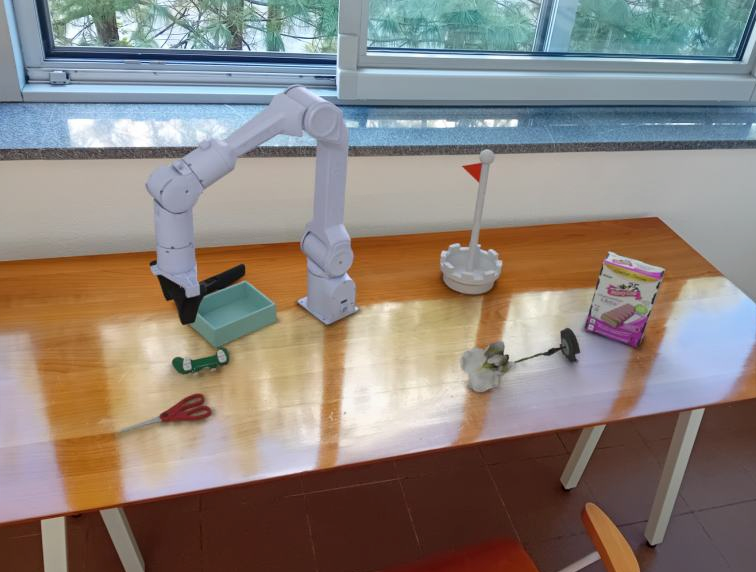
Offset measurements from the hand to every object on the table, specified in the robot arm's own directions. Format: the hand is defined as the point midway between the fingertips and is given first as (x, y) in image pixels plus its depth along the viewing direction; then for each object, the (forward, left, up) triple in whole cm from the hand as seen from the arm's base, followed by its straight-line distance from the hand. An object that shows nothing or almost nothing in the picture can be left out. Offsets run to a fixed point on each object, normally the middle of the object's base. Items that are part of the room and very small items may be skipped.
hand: (179, 310), depth 122 cm
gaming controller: (-5, -1, -10) cm, 11 cm away
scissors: (-12, +10, -10) cm, 19 cm away
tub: (+3, -12, -10) cm, 15 cm away
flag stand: (-14, -59, -10) cm, 61 cm away
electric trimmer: (+14, -14, -10) cm, 22 cm away
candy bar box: (-45, -68, -10) cm, 82 cm away
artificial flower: (-41, -44, -10) cm, 60 cm away
